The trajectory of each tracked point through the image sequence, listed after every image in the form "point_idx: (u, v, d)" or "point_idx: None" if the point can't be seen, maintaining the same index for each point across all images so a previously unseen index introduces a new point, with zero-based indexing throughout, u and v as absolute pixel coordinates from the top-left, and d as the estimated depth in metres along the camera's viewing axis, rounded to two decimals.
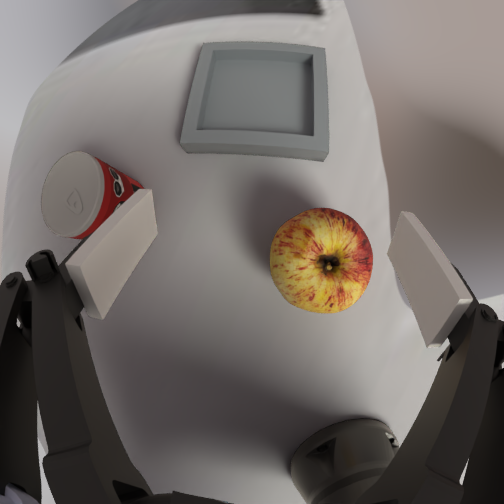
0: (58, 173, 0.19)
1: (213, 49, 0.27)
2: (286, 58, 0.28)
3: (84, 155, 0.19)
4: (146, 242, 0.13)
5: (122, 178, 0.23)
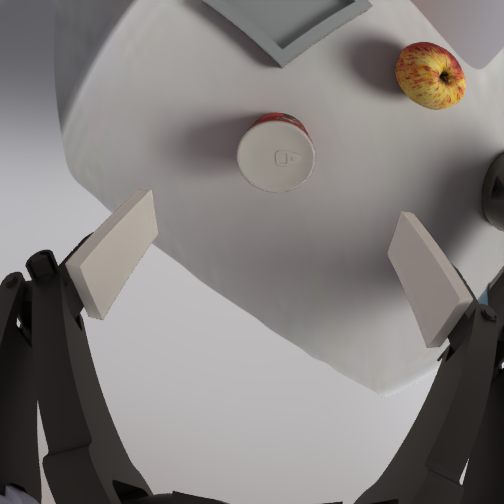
0: (247, 156, 0.26)
1: None
2: None
3: (262, 126, 0.24)
4: (146, 242, 0.13)
5: (283, 117, 0.27)
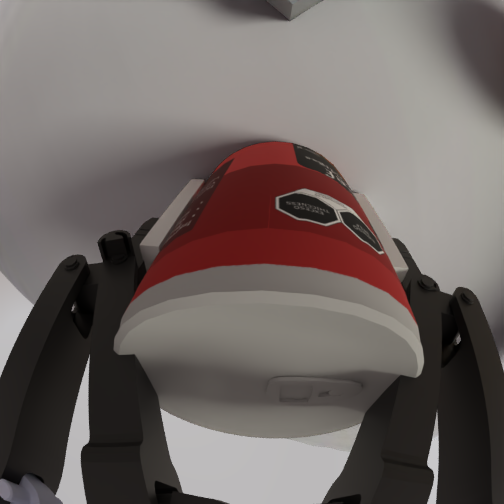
0: (159, 377, 0.06)
1: None
2: None
3: (193, 310, 0.04)
4: None
5: (304, 183, 0.07)
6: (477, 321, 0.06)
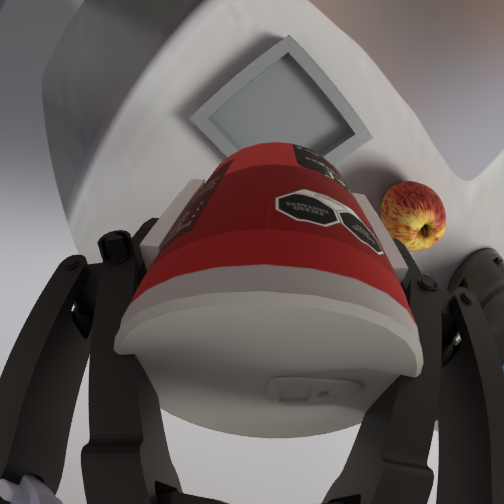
0: (159, 377, 0.06)
1: (205, 117, 0.29)
2: (266, 69, 0.26)
3: (193, 311, 0.04)
4: None
5: (303, 183, 0.07)
6: (477, 322, 0.06)
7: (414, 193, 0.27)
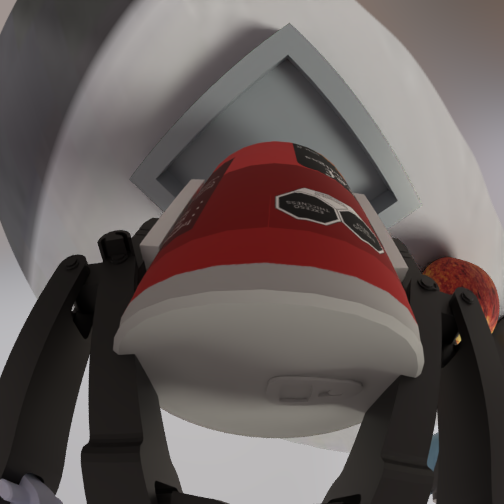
0: (159, 376, 0.06)
1: (153, 177, 0.18)
2: (250, 86, 0.15)
3: (193, 309, 0.04)
4: None
5: (304, 182, 0.07)
6: (477, 321, 0.06)
7: None
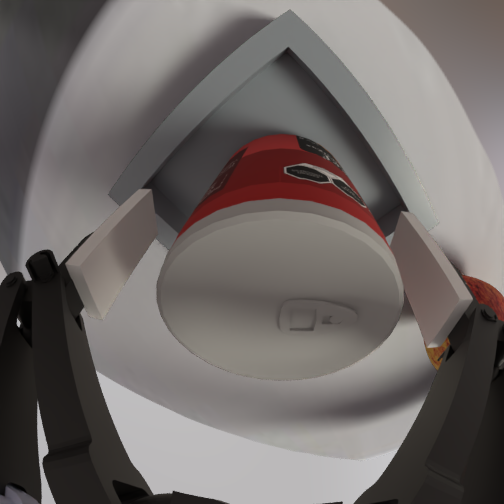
0: (191, 310, 0.09)
1: (134, 192, 0.16)
2: (243, 85, 0.13)
3: (231, 228, 0.06)
4: (146, 242, 0.13)
5: (304, 160, 0.10)
6: None
7: None
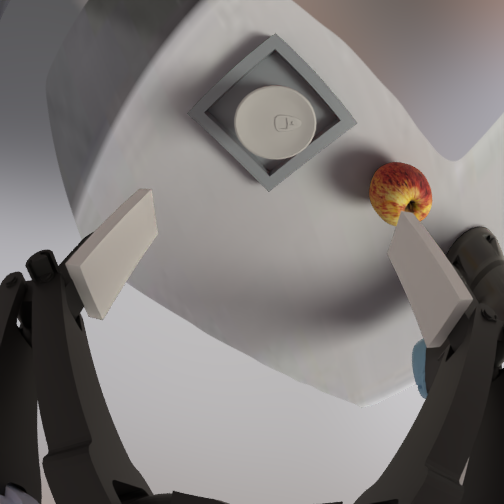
0: (245, 123, 0.24)
1: (202, 111, 0.31)
2: (256, 65, 0.28)
3: (260, 90, 0.22)
4: (146, 242, 0.13)
5: None
6: None
7: (399, 172, 0.29)
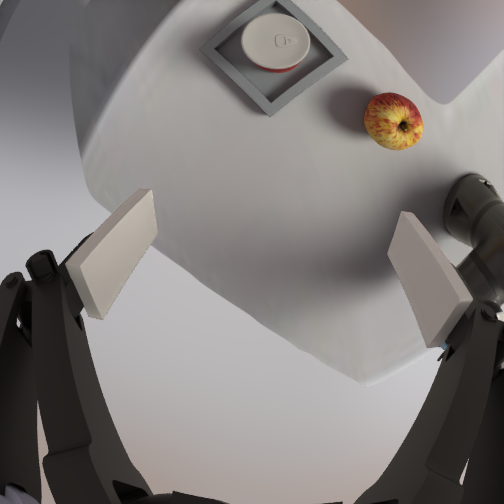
0: (250, 40, 0.24)
1: (212, 47, 0.31)
2: (260, 13, 0.28)
3: (263, 16, 0.22)
4: (146, 242, 0.13)
5: None
6: None
7: (388, 95, 0.29)
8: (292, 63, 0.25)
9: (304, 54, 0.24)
